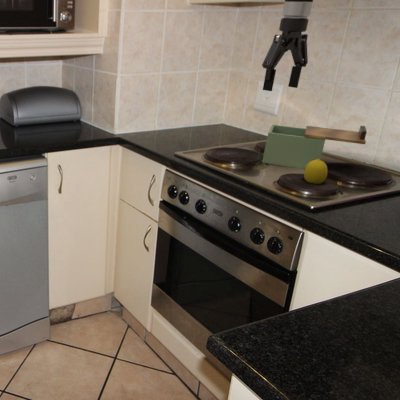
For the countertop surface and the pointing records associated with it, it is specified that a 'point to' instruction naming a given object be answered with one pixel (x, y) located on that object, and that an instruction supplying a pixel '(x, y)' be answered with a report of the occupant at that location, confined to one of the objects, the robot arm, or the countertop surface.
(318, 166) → the lemon
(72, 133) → the countertop surface
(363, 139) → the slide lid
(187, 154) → the countertop surface
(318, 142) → the caddy
